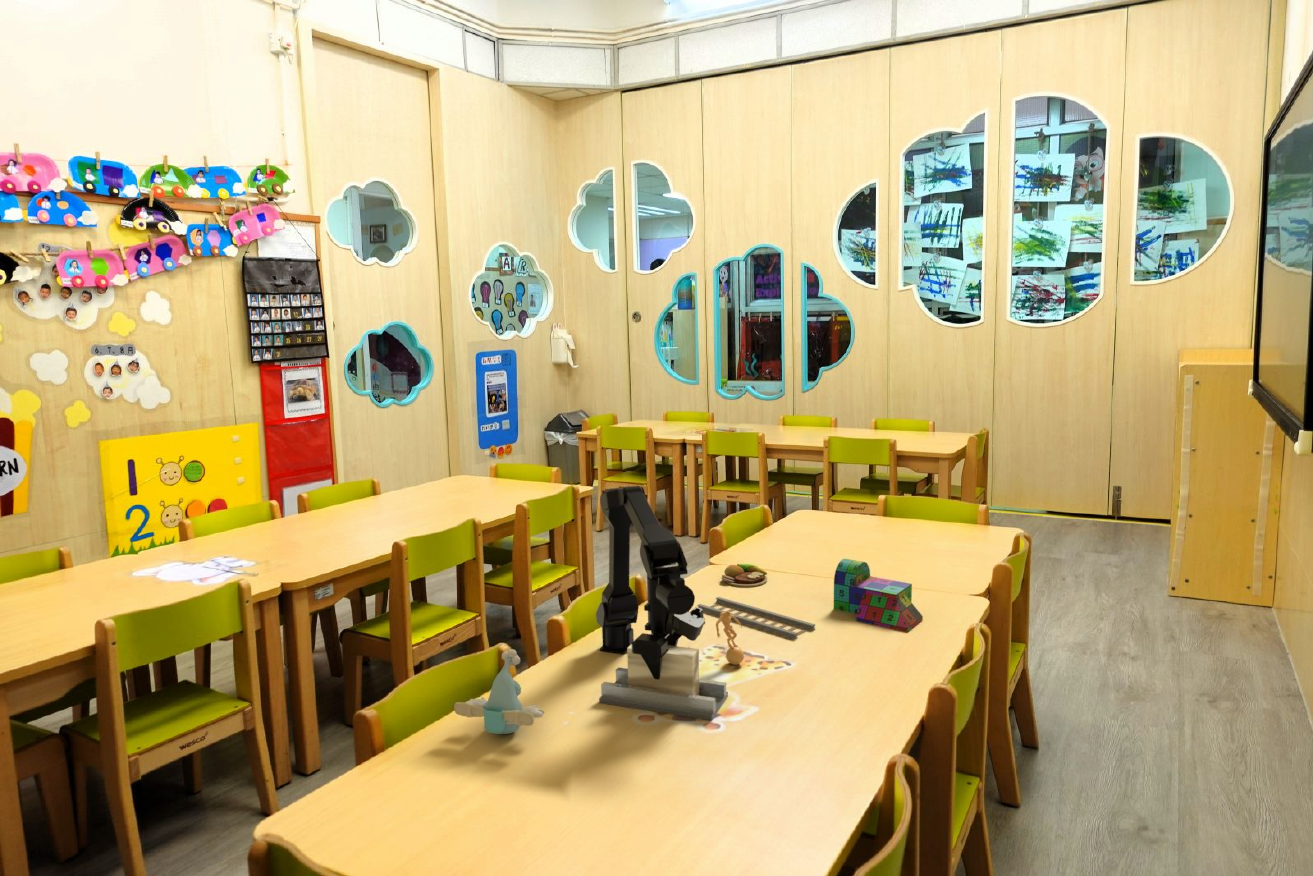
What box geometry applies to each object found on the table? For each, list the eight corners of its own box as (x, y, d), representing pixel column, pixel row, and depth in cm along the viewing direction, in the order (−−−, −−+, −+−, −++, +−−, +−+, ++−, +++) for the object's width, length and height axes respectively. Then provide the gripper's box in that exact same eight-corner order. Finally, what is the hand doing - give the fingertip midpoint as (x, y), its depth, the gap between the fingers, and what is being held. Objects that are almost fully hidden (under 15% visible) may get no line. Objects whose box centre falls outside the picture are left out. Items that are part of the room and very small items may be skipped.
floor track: (599, 702, 176) (598, 686, 176) (620, 680, 186) (620, 665, 186) (711, 720, 167) (711, 703, 167) (727, 696, 178) (727, 680, 177)
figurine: (730, 672, 189) (729, 620, 187) (709, 665, 193) (708, 613, 192) (753, 660, 195) (753, 609, 193) (732, 653, 199) (732, 603, 197)
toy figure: (557, 724, 167) (554, 651, 165) (532, 751, 158) (529, 673, 155) (482, 713, 173) (478, 641, 170) (453, 738, 163) (448, 662, 161)
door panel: (693, 704, 172) (692, 656, 171) (628, 694, 177) (627, 648, 176) (699, 695, 176) (698, 649, 175) (635, 686, 181) (634, 640, 180)
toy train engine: (825, 615, 223) (825, 568, 221) (850, 598, 235) (850, 554, 233) (907, 633, 210) (908, 583, 208) (929, 614, 222) (931, 568, 220)
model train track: (791, 643, 206) (791, 635, 206) (694, 613, 228) (693, 606, 227) (818, 630, 214) (818, 622, 214) (721, 602, 236) (721, 595, 235)
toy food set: (745, 596, 240) (745, 582, 240) (704, 587, 249) (704, 573, 248) (781, 577, 256) (781, 564, 255) (741, 569, 264) (741, 556, 264)
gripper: (684, 618, 162) (685, 697, 164) (713, 588, 179) (714, 659, 182) (629, 612, 166) (631, 689, 168) (663, 582, 183) (665, 652, 186)
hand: (663, 671), depth 176 cm, fingers open, 7 cm apart
